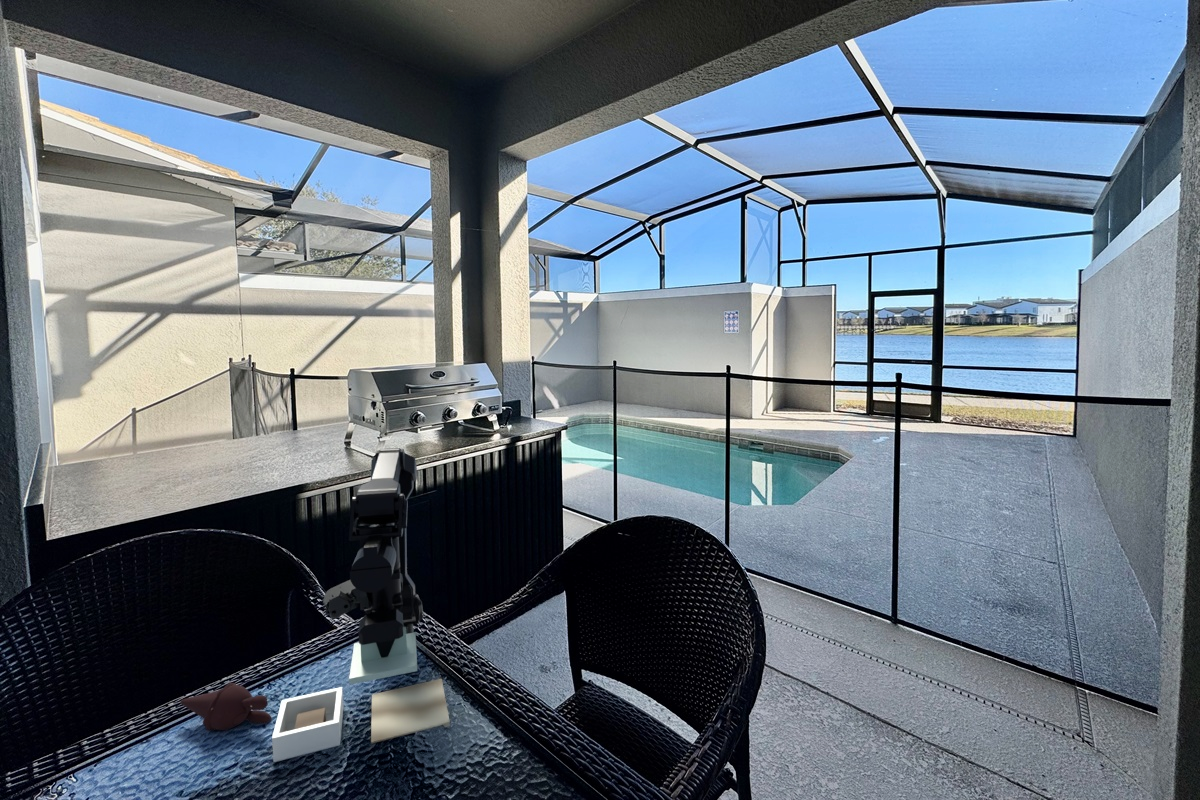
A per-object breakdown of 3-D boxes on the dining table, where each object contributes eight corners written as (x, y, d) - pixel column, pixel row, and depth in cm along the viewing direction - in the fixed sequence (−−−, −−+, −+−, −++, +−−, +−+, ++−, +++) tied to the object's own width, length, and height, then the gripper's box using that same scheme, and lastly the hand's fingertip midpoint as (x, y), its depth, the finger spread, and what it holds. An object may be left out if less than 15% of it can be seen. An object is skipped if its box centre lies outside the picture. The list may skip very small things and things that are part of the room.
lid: (354, 652, 91) (353, 624, 91) (415, 641, 95) (414, 614, 94) (349, 689, 82) (348, 657, 82) (417, 675, 86) (416, 645, 85)
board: (372, 698, 94) (371, 694, 94) (441, 682, 99) (441, 678, 99) (371, 746, 83) (371, 742, 83) (449, 726, 88) (449, 721, 88)
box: (283, 725, 88) (281, 700, 87) (343, 710, 91) (342, 686, 91) (273, 765, 80) (271, 738, 79) (340, 748, 83) (338, 722, 82)
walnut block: (298, 727, 86) (297, 713, 86) (325, 721, 88) (325, 707, 88) (295, 745, 83) (294, 730, 82) (323, 738, 84) (322, 723, 84)
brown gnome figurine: (157, 706, 83) (250, 718, 82) (194, 667, 90) (280, 677, 89) (167, 736, 85) (257, 748, 85) (202, 696, 92) (285, 707, 92)
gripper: (332, 547, 92) (337, 631, 94) (317, 598, 75) (323, 699, 77) (400, 539, 96) (404, 620, 98) (401, 586, 79) (405, 682, 81)
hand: (384, 652), depth 88 cm, fingers closed on lid, 2 cm apart
